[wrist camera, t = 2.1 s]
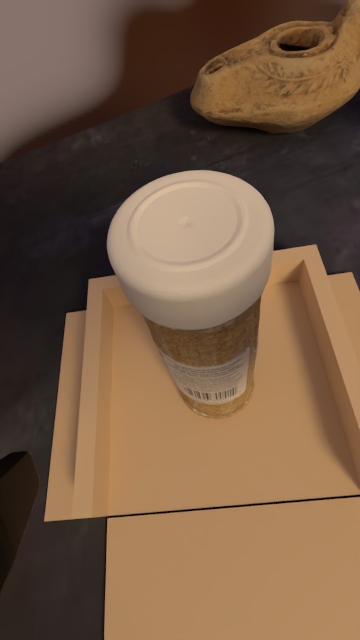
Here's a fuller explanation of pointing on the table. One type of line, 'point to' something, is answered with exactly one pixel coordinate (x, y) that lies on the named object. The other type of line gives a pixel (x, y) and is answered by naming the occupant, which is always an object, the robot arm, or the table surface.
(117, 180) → the table surface
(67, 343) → the carton
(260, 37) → the oil lamp
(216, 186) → the sprinkles bottle
